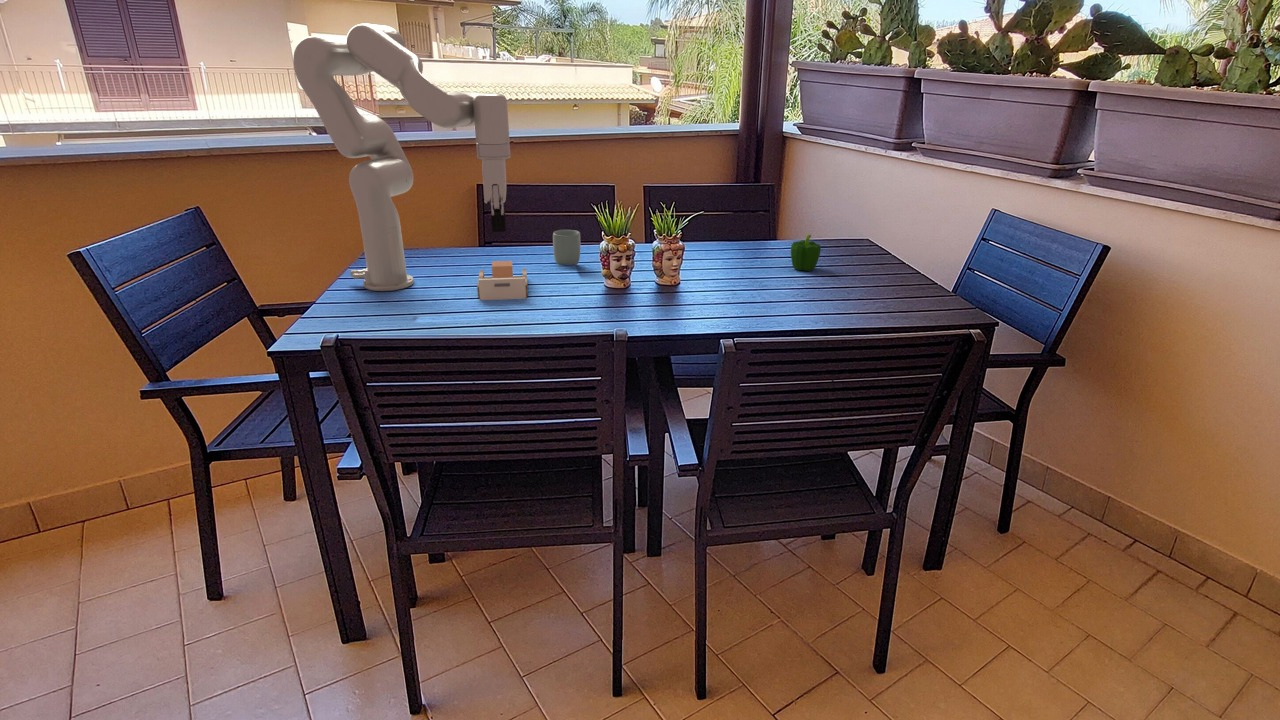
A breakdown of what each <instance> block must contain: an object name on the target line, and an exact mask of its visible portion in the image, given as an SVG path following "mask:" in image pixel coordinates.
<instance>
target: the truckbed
mask: <svg viewBox="0 0 1280 720" xmlns="http://www.w3.org/2000/svg"><path fill="white" fill-rule="evenodd" d="M527 274H528V273H527V268H522V275H513V278H519V277H525V288H526V298H527V297H529V294H528V292H529V291H528V290H529V288H528V287H529V286H528V275H527ZM489 278H493V276H485V272H484V270H483V269H482V270H481V269H480V270H479V274H478V279H489ZM478 279H477V284H476V285H477V286H476V288H477V299H479V300H480V293H479V281H478Z"/></svg>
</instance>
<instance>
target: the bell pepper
mask: <svg viewBox="0 0 1280 720" xmlns="http://www.w3.org/2000/svg"><path fill="white" fill-rule="evenodd" d="M811 238H812V235H811V234H809V233H808V234H807V235H806V237H805V240H803V239H802V240H800V241H794V242H792V244H791V247H790V257H791V264H792V267H793V269H794V270H797V271H805V272H810V271H811V272H812V271H814V270H815V268H816V266H817V264H818V261H819V259H820V256H821V245H820V244H819V243H816V242H815V241H813V240H812V241H810V239H811Z"/></svg>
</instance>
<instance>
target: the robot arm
mask: <svg viewBox="0 0 1280 720" xmlns="http://www.w3.org/2000/svg"><path fill="white" fill-rule="evenodd" d="M406 44H407V43H406V42H405V40H404V37H403V36H402V35H401V33H400V32H399V31H397V30H396V29H395V28H393V27H391V26H388V25H381V24H374V23H373V24H372V23H359V24H356V25H354V26H353V27H351V28H350V30H349V31H348V33H347V35H346V36H345V37H344V36H333V35H322V34H321V35H319V34H318V35H311V36H307V37H304V38H303V39H300V41H299V42H298V43H297V45H296V47H295V48H294V52H293V61H292V63H293V70H294V74H295V76H296V80H297V81H298V83H299V85H300V87H301V88H302V90H303V92H304V93H305V94H306V96H307V97H308V99H309V101H310V102H311V104H312V105H313V107H314V109H315V110H316V112H317V114H318V116H319V119H320V121H321V123H322V124H323V126H324V128H325V130H326V132H327V133H328V136H329V138H330V139H331V141H332V142H333V144H334V146H335V148H336V149H337V151H338V152H339V153H340V155H341V156H343V157H345V158H347V159H357V158H358V159H359V158H364V157H369V158H370V159H369V160H365V161H361V162H359V163H357V164H356V165H355V166H353V168H352V169H351V170H350V172H349V175H348V183H349V184H348V185H349V187H350V190H351V195H352V197H353V199H354V203H355V204H356V209H357V214H358V221H359V226H360V230H361V231H360V232H361V238H362V245H363V250H364V257H365V263H366V268H362V269H351V270H350V277H351V278H353V279H354V280H359V279H363V281H362V285H363V288H364V289H366V290H370V291H375V292H390V291H392V292H393V291H397V290H398V291H399V290H402V289H406V288H408V287H410V286H412V285H413V284H414V283H415V281H414V277H413V276H412V275H410V274H408V273H407V265H406V264H407V263H406V259H405V258H406V257H405V251H404V243H403V235H402V227H401V221H400V220H401V219H400V215H399V212H398V208H397V207H396V206H395V204H394V201H393V198H392V197H396V196H399V195H402V194H405V193H407V192H408V191H409V190H411V188H412V187H413V185H414V179H415V178H414V172H413V168H412V166H411V164H410V162H409V160H408V158H407V155H405V152H404V150H403V148H402V146H401V144H400V142H399V141H398V138H397V137H396V135H395V132H394V131H393V129H392V128H391V126H390V125H389V124H388V123H387V122H386V121H385V120H383V119H382V118H380V117H379V116H375V115H361V114H360V113H359V111H358V110H357V108H356V106H355V103H354V102H353V100H352V97H350V95H349V93H348V92H347V91H346V89H345V88H344V87H343V86H341V84H339V83H338V81H336V79H335V78H334V76H339V77H340V76H350V77H351V76H353V77H354V76H358V75H359V76H360V75H365V74H368V73H372V72H373V73H375V74H377V75H378V76H379V77H381V78H383V79H384V80H385V81H387V82H388V83H389V84H391V85H392V86H394V87H395V88H397V90H399V92H400V95H401V96H402V98H403V99H404V100H405V102H406V103H407V105H409V107H410V109H413V111H415V112H416V113H418V114H419V115H420V116H422V117H424V119H426V120H428V121H429V122H431V123H432V124H434V125H435V126H438V127H441V128H443V129H456V128H464V127H471V126H473V127H474V131H475V132H474V133H475V143H476V144H475V145H476V147H475V148H476V157H477V158H476V159H479V160H481V162H482V163H481V171H482V173H481V174H482V186H483V199H484V200H483V202H484V203H485V204H488V202H490V207H491V208H490V209H491V214H490V219H491V220H490V221H491V231H492V232H493V233H505V232H506V231H507V230H506V229H507V225H506V224H507V223H506V212H505V210H504V203H505V202H506V198H507V166H506V164H507V163H506V160H508V159H511V143H510V141H511V140H510V127H509V110H508V100H507V97H506V96H505V95H504V94H501V93H491V92H487V93H485V92H484V93H483V92H482V93H478V92H472V91H466V90H464V91H461V90H460V91H457V90H456V91H445V90H443V89H441V88H440V87H438V86H437V85H435V84H434V83H432V82H431V81H430V80H428V78H426V77H425V76H424V75H423V71H424V69H423V68H424V64H423V61H422V60H421V58H420V57H419V56H418V55H416V54H415V53H414V52H412V51H411V50H410V49H408V48H407V45H406Z"/></svg>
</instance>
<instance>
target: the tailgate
mask: <svg viewBox="0 0 1280 720" xmlns="http://www.w3.org/2000/svg"><path fill="white" fill-rule="evenodd" d="M478 281H479V293H480V298H479V301H492V300H493V301H494V300H513V299H514V300H516V299H518V300H519V299H527V297H526V288H525V277H519V278H489V279H477V282H478Z"/></svg>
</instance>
